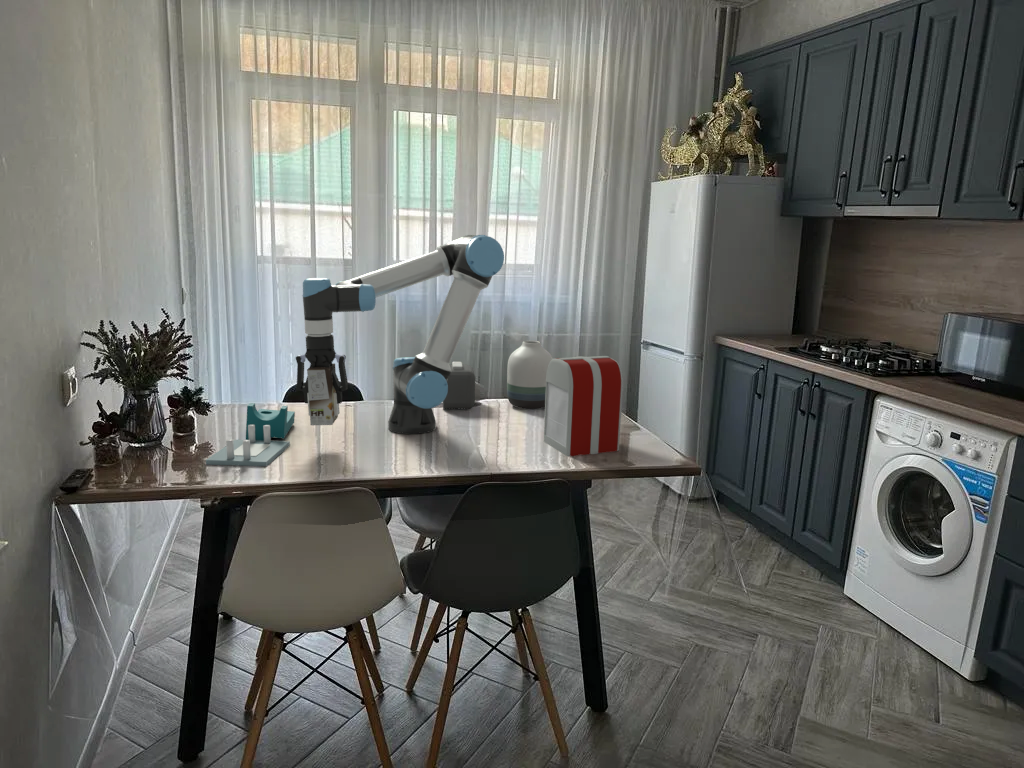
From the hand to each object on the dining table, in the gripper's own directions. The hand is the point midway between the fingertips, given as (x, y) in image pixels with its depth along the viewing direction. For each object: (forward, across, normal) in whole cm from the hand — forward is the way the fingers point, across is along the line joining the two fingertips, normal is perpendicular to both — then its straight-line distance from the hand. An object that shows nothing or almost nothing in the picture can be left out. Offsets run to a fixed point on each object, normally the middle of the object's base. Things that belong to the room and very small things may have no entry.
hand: (324, 414), depth 199 cm
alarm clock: (+12, -33, -56) cm, 66 cm away
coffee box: (+2, 0, 0) cm, 2 cm away
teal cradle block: (+10, +21, -14) cm, 27 cm away
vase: (+12, -59, -58) cm, 83 cm away
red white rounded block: (+12, -74, -10) cm, 76 cm away
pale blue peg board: (+9, +19, +8) cm, 23 cm away
